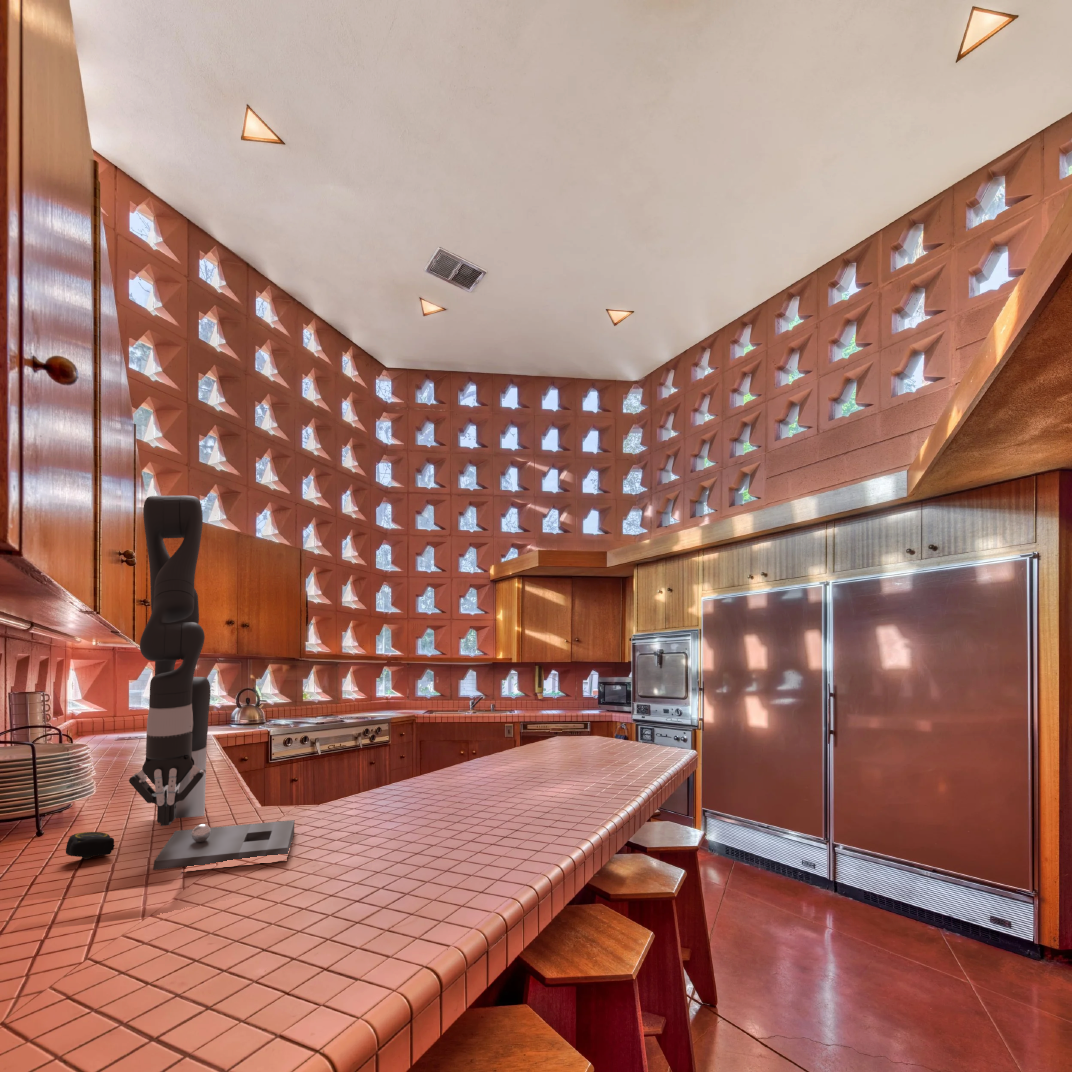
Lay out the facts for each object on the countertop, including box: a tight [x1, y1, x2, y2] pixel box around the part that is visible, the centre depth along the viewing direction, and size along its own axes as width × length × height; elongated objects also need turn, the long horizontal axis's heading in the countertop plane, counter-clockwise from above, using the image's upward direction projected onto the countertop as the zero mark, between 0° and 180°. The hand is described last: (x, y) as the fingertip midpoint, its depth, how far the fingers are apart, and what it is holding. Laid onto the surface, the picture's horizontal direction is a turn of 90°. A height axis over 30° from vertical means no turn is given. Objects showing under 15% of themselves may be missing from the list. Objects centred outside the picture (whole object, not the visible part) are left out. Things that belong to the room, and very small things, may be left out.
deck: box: [153, 819, 295, 871], centre depth 124 cm, size 22×14×2 cm, turn 105°
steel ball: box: [192, 823, 211, 842], centre depth 123 cm, size 3×3×3 cm
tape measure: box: [65, 831, 116, 860], centre depth 121 cm, size 7×7×4 cm
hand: (166, 824), depth 121 cm, fingers closed
